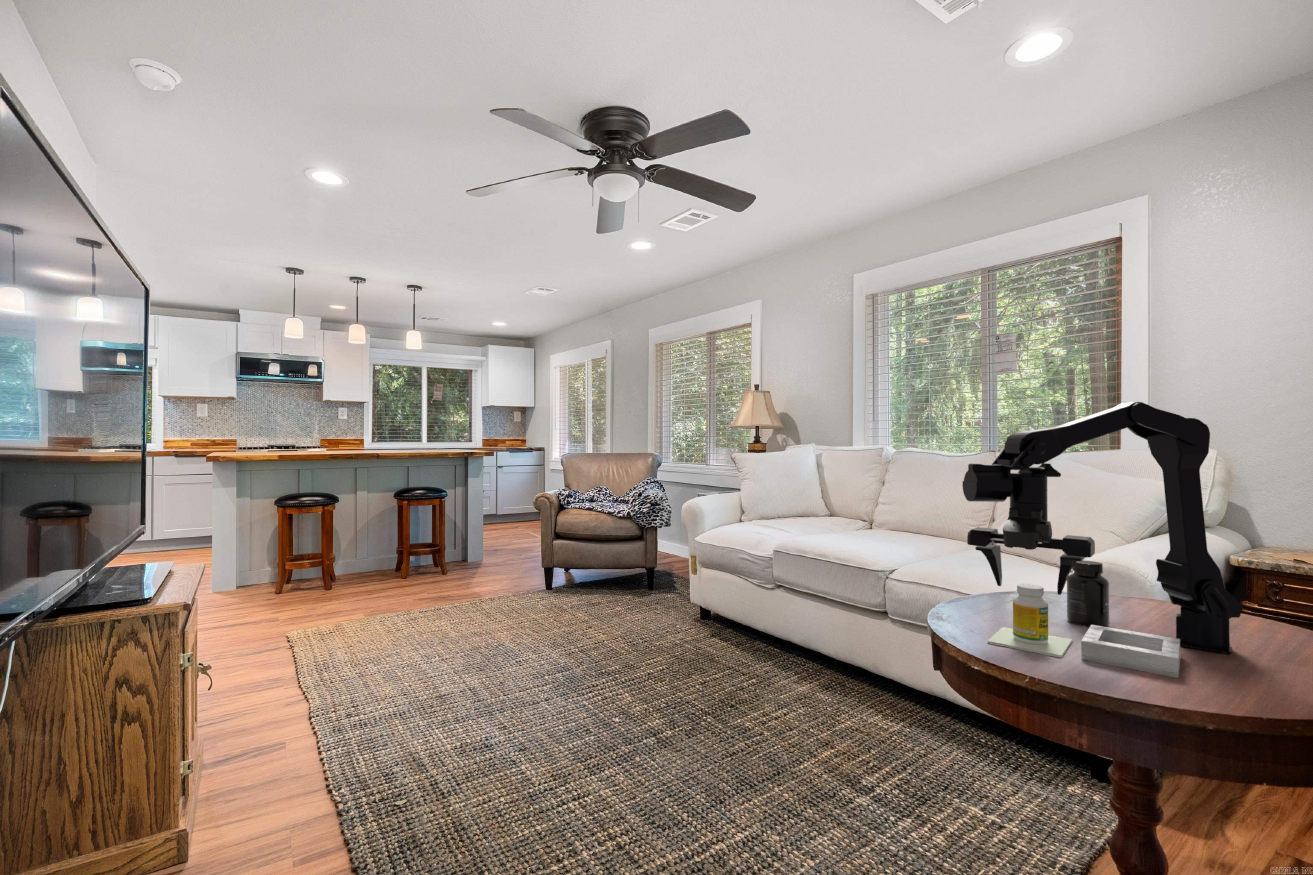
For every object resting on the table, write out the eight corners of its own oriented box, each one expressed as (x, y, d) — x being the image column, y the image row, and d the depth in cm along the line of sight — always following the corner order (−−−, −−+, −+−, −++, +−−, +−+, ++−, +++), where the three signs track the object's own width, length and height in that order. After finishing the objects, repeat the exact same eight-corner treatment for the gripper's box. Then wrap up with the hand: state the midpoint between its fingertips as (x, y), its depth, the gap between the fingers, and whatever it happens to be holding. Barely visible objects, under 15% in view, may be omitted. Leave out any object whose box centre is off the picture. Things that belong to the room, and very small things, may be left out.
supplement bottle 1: (1017, 633, 111) (1017, 580, 111) (1052, 640, 107) (1051, 586, 107) (1008, 639, 107) (1008, 585, 107) (1043, 647, 103) (1043, 591, 103)
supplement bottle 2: (1117, 629, 115) (1116, 566, 115) (1076, 627, 116) (1076, 564, 116) (1098, 619, 121) (1097, 559, 121) (1060, 617, 123) (1060, 558, 123)
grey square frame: (1180, 657, 100) (1180, 638, 100) (1178, 678, 91) (1178, 658, 91) (1091, 641, 108) (1091, 624, 108) (1081, 659, 99) (1081, 640, 99)
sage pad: (1072, 641, 107) (1072, 639, 107) (1061, 657, 99) (1061, 655, 99) (1002, 628, 115) (1002, 626, 115) (987, 643, 107) (987, 640, 107)
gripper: (958, 501, 108) (958, 589, 107) (1085, 509, 95) (1086, 608, 95) (975, 497, 116) (975, 579, 116) (1095, 504, 103) (1095, 595, 103)
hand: (1028, 589), depth 107 cm, fingers open, 9 cm apart
